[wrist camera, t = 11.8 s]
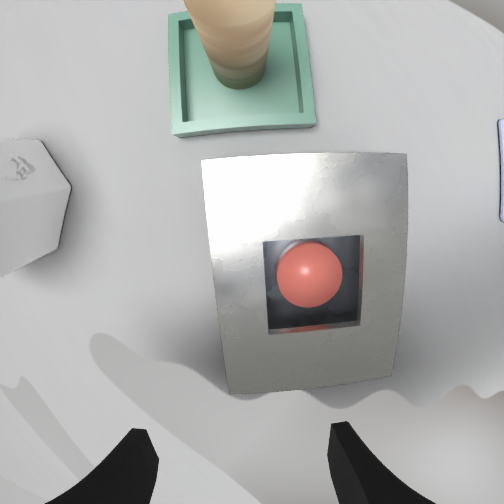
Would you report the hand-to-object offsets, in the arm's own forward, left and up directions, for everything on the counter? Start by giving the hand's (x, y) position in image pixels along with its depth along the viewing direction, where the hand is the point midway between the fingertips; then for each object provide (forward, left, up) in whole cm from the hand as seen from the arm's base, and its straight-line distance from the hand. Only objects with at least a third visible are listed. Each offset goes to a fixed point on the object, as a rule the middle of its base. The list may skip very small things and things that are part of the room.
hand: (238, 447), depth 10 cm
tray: (-1, -16, -10) cm, 19 cm away
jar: (+15, -10, -11) cm, 21 cm away
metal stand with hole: (-4, -4, -10) cm, 12 cm away
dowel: (-1, -16, -10) cm, 19 cm away
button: (-4, -4, -9) cm, 11 cm away
